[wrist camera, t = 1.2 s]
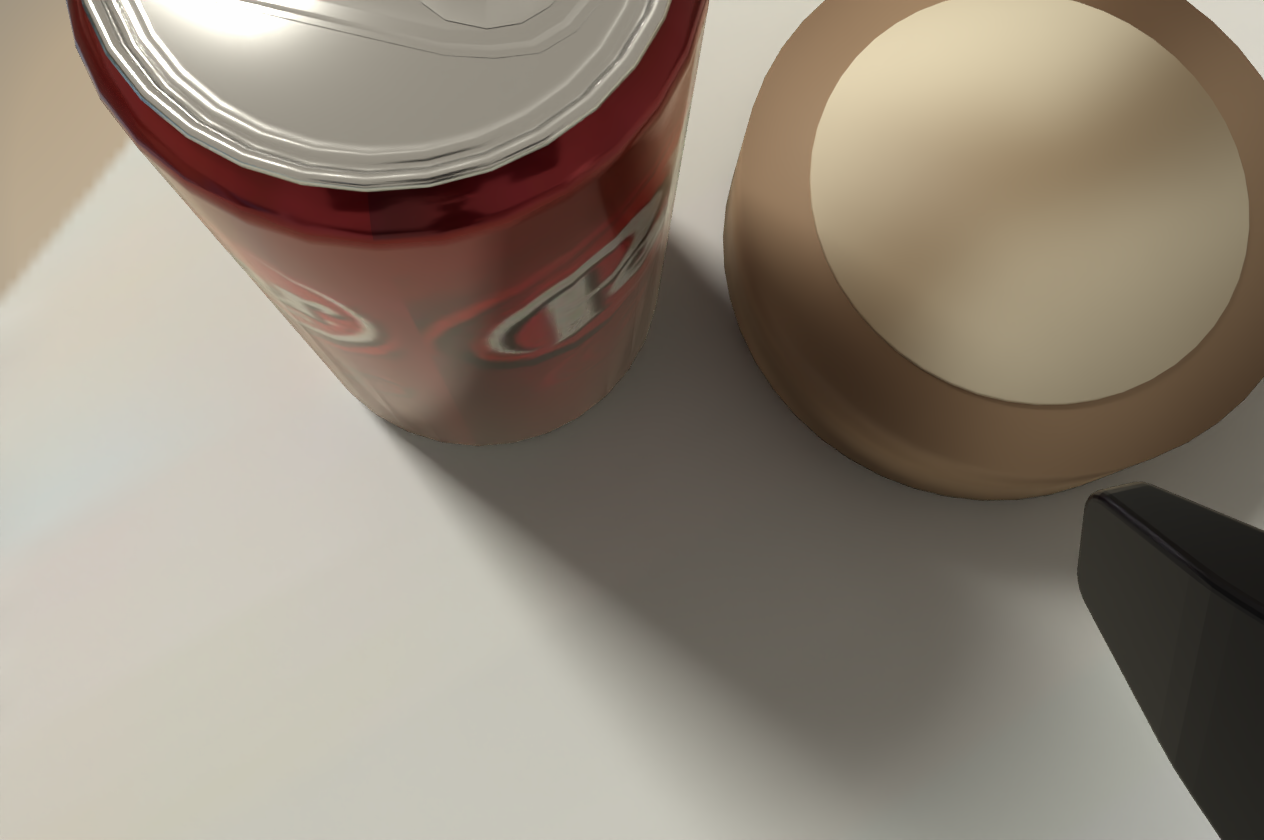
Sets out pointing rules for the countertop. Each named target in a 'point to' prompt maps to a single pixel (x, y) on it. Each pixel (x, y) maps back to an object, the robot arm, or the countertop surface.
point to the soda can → (425, 181)
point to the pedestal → (1003, 236)
